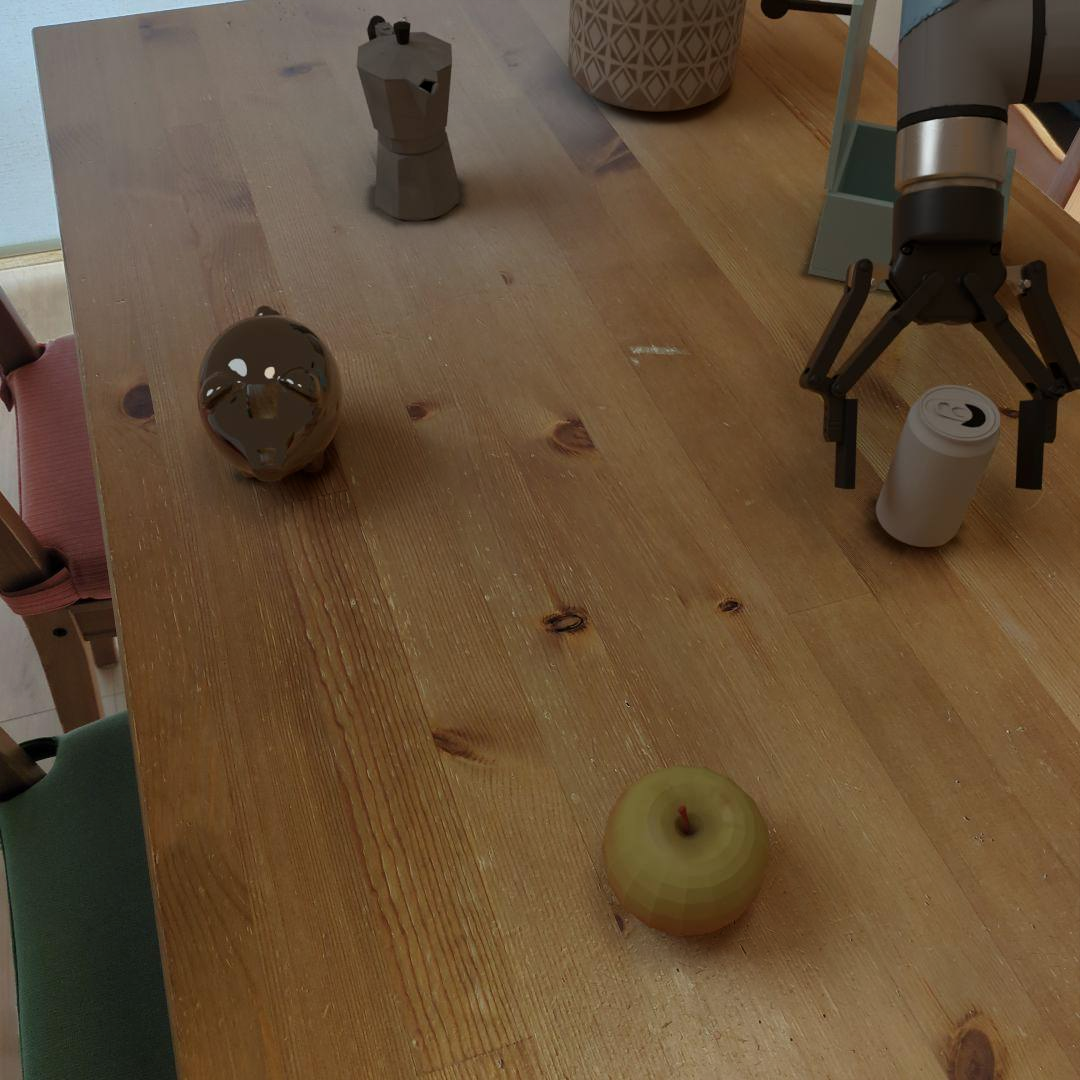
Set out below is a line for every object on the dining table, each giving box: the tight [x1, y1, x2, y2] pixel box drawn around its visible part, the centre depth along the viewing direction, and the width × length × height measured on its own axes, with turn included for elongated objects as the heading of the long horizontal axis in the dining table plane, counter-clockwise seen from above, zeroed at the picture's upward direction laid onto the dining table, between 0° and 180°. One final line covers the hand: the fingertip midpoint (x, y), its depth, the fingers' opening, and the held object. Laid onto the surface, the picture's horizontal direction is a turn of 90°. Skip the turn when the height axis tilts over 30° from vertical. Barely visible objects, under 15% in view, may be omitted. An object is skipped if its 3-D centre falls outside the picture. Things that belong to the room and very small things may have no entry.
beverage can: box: [875, 384, 1001, 548], centre depth 83 cm, size 6×6×12 cm
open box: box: [807, 119, 1017, 292], centre depth 106 cm, size 16×14×9 cm
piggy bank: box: [195, 305, 344, 483], centre depth 87 cm, size 11×15×12 cm
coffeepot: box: [356, 14, 460, 222], centre depth 108 cm, size 15×9×18 cm, turn 26°
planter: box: [567, 0, 748, 112], centre depth 123 cm, size 19×19×16 cm
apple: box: [601, 764, 771, 937], centre depth 66 cm, size 10×10×8 cm
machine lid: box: [760, 0, 878, 191], centre depth 99 cm, size 16×14×9 cm
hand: (936, 489), depth 82 cm, fingers open, 13 cm apart
